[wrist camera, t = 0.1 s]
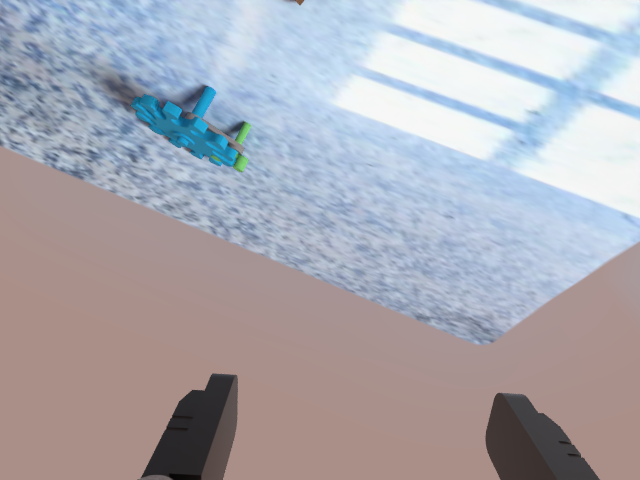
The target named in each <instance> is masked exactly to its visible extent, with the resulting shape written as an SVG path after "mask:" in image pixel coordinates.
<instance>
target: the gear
mask: <svg viewBox="0 0 640 480" xmlns="http://www.w3.org/2000/svg"><path fill="white" fill-rule="evenodd" d="M215 94H216V91H215V90H214V89H212V88H211V87H208V86H207V87H206V88H205V90H204V92H203V93H202V95H201V97H200V99H199V101H198V102H197V104H196V106H195V108H194V109H193V111H192V113H191V112H188V113H187V115H186V116H185V118H183V117H181V116H180V114H181V112H182V109H181V108H179V107H178V106H176V105H174V104H172V103H170V102H169V101H167V102H166V104H165V106H164V108H163V109H162V108H161V107H160V106H159V101H158V100H157V99H156V98H154V97H152V96H149V95H146V94H144V95H143V97H142V98H141V97H136V98H135V99H134V100H133V102H132V104H131V105H130V106H131V107H133V108H134V109H135V110H137V112H136V113H135V115H136V116H137V117H138V118H139V119H141V120H143V121H145V122H148V123H150V125H149V126H148V127H149V128H150V129H151V130H152V131H154V132H155V133H157V134H160V135H165V136H167V137H170V139H169V142H170V143H172V144H173V145H175V146H176V147H178V148H181V147H182V146H183V147H187V148H190V149H192V150H191V152H190V153H191V154H192V155H194V156H195V157H197V158H199V159H202V158H203V156H204V154H205V155H207V156H208V157H209V161H210V162H211V163H213V164H216V165H218V166H221V164H222V163H223V164H224V165H226V166H230V167H233V168H234V169H235V170H237V171H239V172H243V170H244V168H245V166H246V164H247V163H248V161H249V160H248V159H247V158H246V157H244V156H242V153H243V151H244V149H245V148H244V147H243V146H242V143H243V141H244V139H245V137H246V135H247V133H248V131H249V129H250V127H251V125H250V124H248V123H246V122H244V124H243V126H242V128H241V130H240V132H239V134H238V136H237V137H236V139H235V140H233V139H232V138H230V137H229V136H227V135H226V134H224V133H223V132H221V131H220V130H218V129H217V128H215V127H214V126H212V125H211V124H209V123H208V122H206V121H205V120H203V119H202V118H203V116H204V114H205V112H206V110H207V109H208V107H209V105H210V103H211V101H212V100H213V98H214V96H215ZM235 161H236V162H235ZM234 163H235V164H234ZM233 165H234V166H233Z"/></svg>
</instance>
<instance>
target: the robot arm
mask: <svg viewBox="0 0 640 480" xmlns="http://www.w3.org/2000/svg"><path fill="white" fill-rule="evenodd" d="M237 384H238V379H237V375H228V374H212V375H211V377H210V380H209V382H208V384H207V386H206V389H205V391H202V390H192V391H191V392H190V393H188V394H187V395H186V396H185V397H184V398H183V399H182V400H181V401H179V403H178V405H177V407H176V409H175V411H174V413H173V415H172V418H171V419H170V421H169V423H168V426H167V429H166V430H165V431H164V433H163V435H162V437H161V439H160V441H159V443H158V445H157V447H156V449H155V451H154V453H153V455H152V457H151V459H150V461H149V463H148V465H147V467H146V469H145V471H144V473H143V475H142V477H141V478H140V479H138V480H223V477H224V473H225V469H226V466H227V462H228V458H229V455H230V451H231V448H232V444H233V441H234V437H235V432H236V425H237V392H238V387H237V386H238V385H237ZM486 447H487V451H488V454H489V456H490V459H491V461H492V463H493V465H494V467H495V469H496V471H497V473H498V475H499V477H500V479H501V480H600V479H599V478H598V477H597V475H596V474H595V473H594V471H593V470H592V469H591V467H590V466H589V465H588V463H587V462H586V461H585V459H584V458H581V454H580V453H579V451H578V450H577V449H576V448H575V446H574V445H572V444H571V441H570V439H569V438H568V437H567V435H566V434H565V433H564V432H563V430H562V429H561V427H560V426H558V425H557V424H556V423H554V421H552V420H551V419H550V418H548V417H547V416H546V415H545V414H543V413H538V412H537V411H536V409H535V408H534V406H533V405H532V404H531V402H530V401H529V399H528V398H527V397H526V396H525V395H522V394H508V393H498V394H496V396H495V398H494V402H493V406H492V410H491V414H490V418H489V422H488V426H487V430H486Z"/></svg>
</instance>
